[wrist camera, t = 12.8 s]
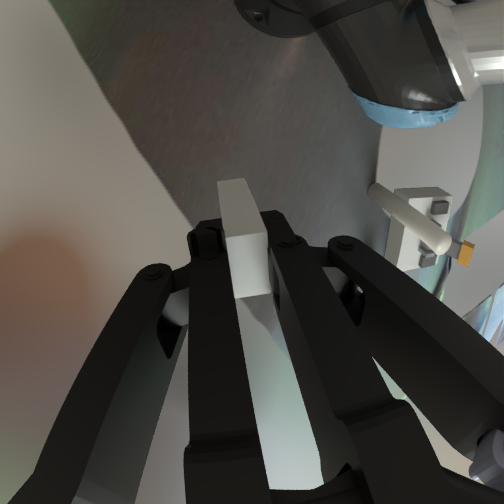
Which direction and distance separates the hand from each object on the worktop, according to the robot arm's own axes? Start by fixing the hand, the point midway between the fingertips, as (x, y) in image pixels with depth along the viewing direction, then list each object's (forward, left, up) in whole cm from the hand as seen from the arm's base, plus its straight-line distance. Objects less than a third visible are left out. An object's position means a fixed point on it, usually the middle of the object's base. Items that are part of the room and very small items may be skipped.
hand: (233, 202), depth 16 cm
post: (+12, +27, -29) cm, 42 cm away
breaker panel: (+20, +38, -29) cm, 52 cm away
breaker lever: (+20, +38, -23) cm, 48 cm away
